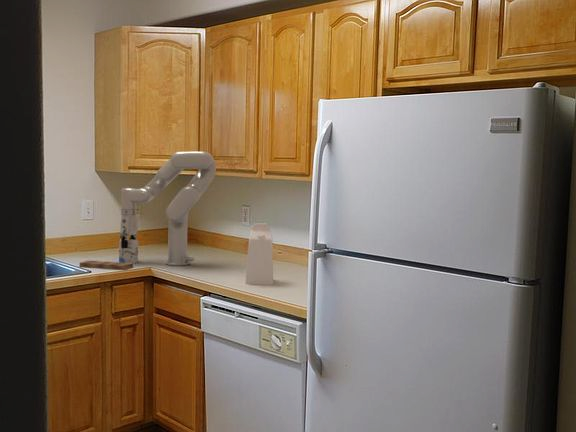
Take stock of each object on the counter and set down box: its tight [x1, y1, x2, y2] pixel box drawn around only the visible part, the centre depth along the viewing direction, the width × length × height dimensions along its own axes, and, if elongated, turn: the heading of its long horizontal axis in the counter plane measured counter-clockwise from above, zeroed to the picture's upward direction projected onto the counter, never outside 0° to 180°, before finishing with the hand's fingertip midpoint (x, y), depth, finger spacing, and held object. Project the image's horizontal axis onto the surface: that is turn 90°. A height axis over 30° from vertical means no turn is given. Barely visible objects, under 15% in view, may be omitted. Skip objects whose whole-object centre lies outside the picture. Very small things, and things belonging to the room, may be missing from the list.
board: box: [79, 259, 134, 271], centre depth 293 cm, size 24×8×2 cm, turn 78°
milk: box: [245, 222, 274, 286], centre depth 267 cm, size 12×12×26 cm
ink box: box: [118, 238, 139, 265], centre depth 306 cm, size 9×5×12 cm, turn 73°
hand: (128, 246), depth 306 cm, fingers open, 8 cm apart
